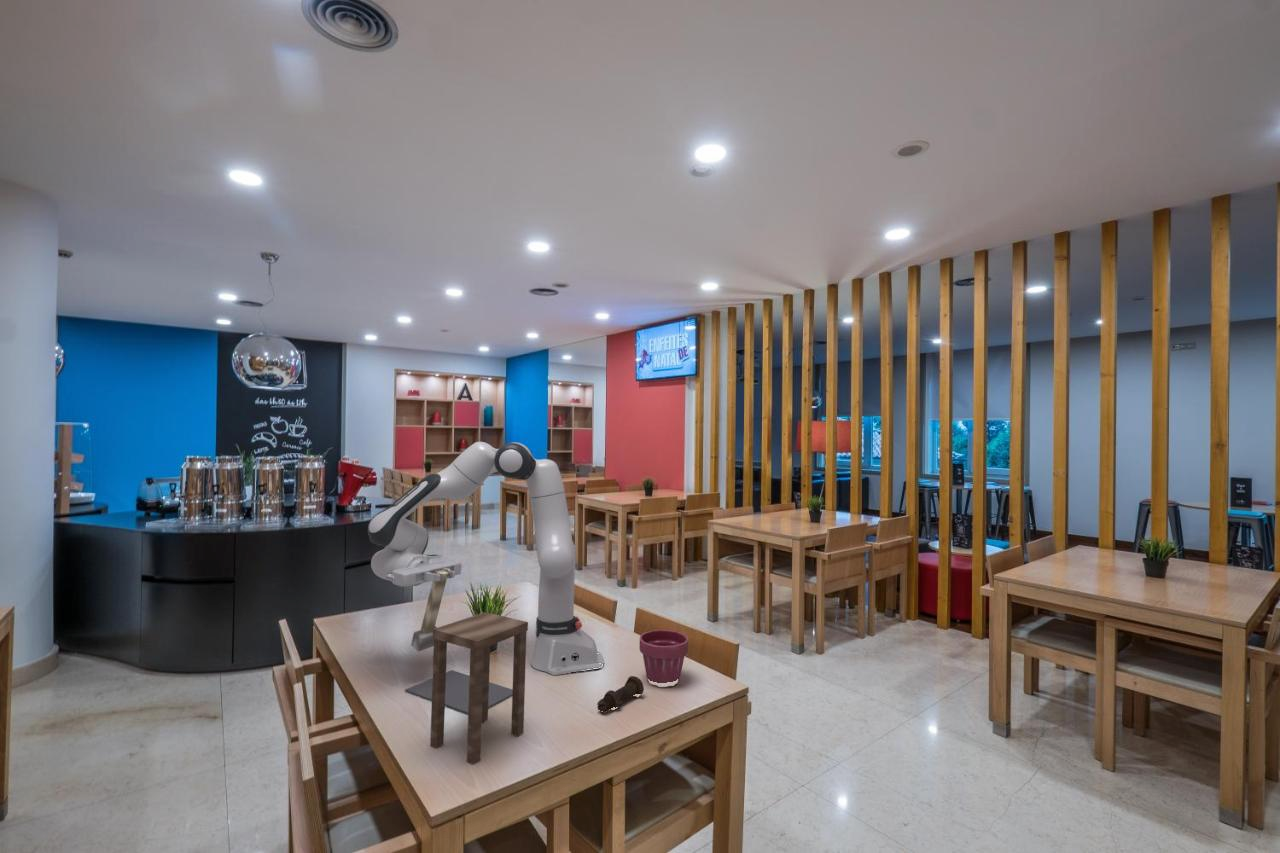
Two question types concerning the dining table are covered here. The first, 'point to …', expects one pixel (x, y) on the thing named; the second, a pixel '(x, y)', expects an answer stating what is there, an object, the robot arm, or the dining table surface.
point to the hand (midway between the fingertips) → (446, 576)
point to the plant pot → (663, 654)
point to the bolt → (621, 694)
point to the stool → (477, 673)
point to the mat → (459, 691)
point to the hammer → (430, 615)
